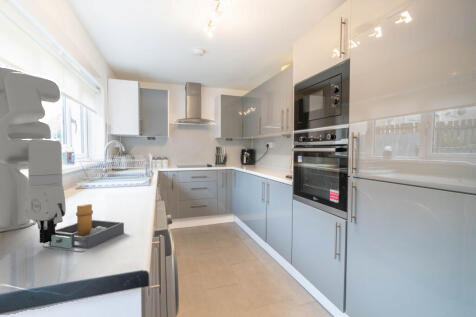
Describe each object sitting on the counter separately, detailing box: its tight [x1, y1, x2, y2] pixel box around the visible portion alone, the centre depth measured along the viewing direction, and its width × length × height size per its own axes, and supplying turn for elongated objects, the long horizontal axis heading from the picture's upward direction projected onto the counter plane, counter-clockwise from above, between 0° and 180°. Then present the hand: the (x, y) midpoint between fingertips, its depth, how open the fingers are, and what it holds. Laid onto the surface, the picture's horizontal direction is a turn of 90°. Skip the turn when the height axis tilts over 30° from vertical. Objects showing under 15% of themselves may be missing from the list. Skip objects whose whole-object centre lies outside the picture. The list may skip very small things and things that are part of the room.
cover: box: [51, 235, 73, 248], centre depth 63 cm, size 7×1×3 cm, turn 75°
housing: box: [42, 219, 125, 253], centre depth 70 cm, size 16×15×4 cm
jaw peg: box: [75, 203, 94, 237], centre depth 71 cm, size 5×5×10 cm
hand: (47, 241), depth 64 cm, fingers closed
